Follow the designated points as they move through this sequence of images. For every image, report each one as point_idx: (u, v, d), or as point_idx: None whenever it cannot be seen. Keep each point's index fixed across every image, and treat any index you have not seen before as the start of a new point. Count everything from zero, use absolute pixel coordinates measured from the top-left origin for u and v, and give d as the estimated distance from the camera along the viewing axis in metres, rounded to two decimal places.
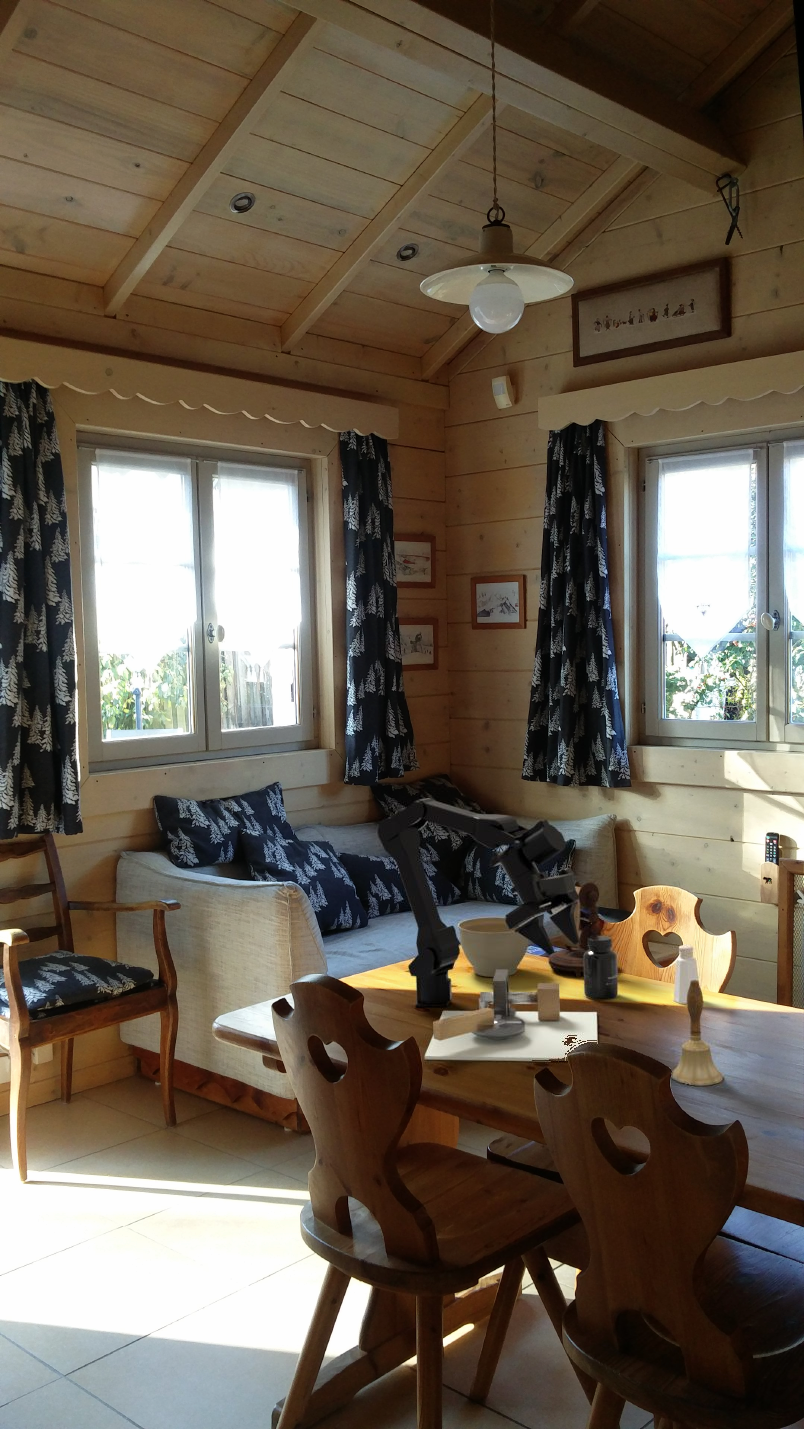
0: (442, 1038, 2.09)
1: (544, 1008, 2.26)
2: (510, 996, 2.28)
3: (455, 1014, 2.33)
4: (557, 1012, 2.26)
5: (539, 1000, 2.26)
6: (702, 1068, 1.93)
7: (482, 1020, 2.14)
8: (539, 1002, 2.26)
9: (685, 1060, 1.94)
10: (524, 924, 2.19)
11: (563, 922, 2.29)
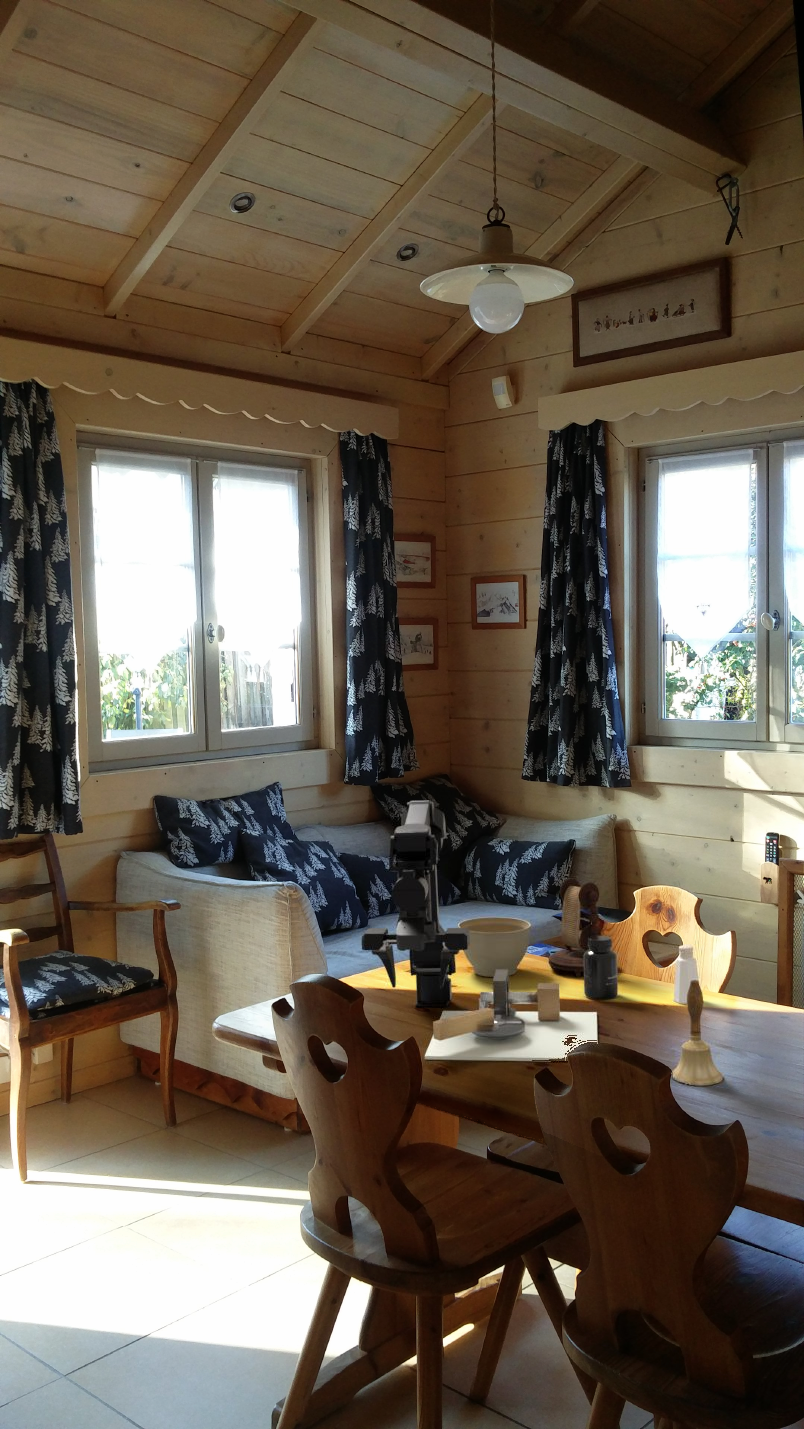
0: (442, 1038, 2.09)
1: (544, 1008, 2.26)
2: (510, 996, 2.28)
3: (455, 1014, 2.33)
4: (557, 1012, 2.26)
5: (539, 1000, 2.26)
6: (702, 1068, 1.93)
7: (482, 1020, 2.14)
8: (539, 1002, 2.26)
9: (685, 1060, 1.94)
10: None
11: None
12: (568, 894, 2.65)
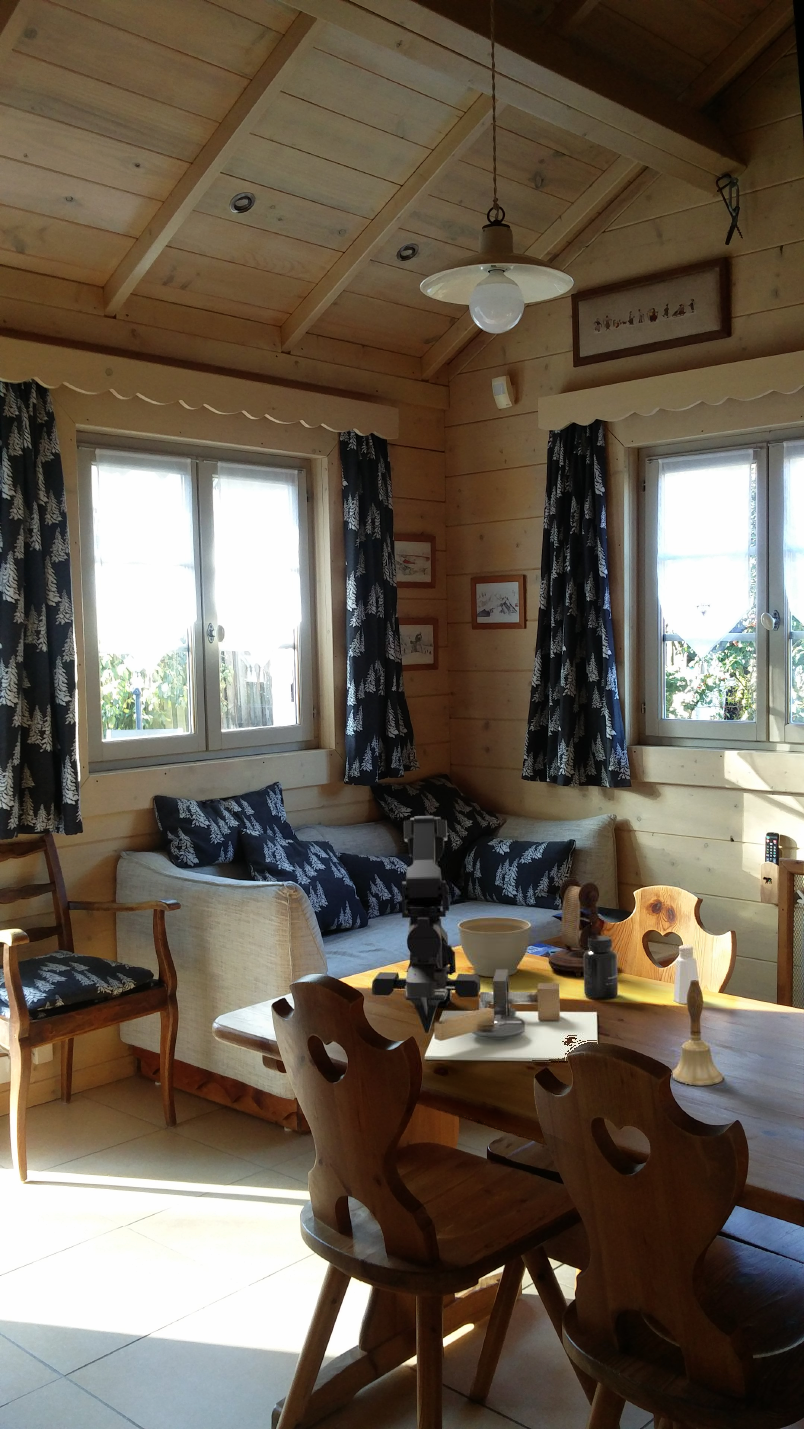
0: (443, 1038, 2.09)
1: (544, 1008, 2.26)
2: (510, 996, 2.28)
3: (455, 1014, 2.33)
4: (557, 1012, 2.26)
5: (539, 1000, 2.26)
6: (702, 1068, 1.93)
7: (482, 1020, 2.14)
8: (539, 1002, 2.26)
9: (685, 1059, 1.94)
10: None
11: None
12: (568, 894, 2.65)
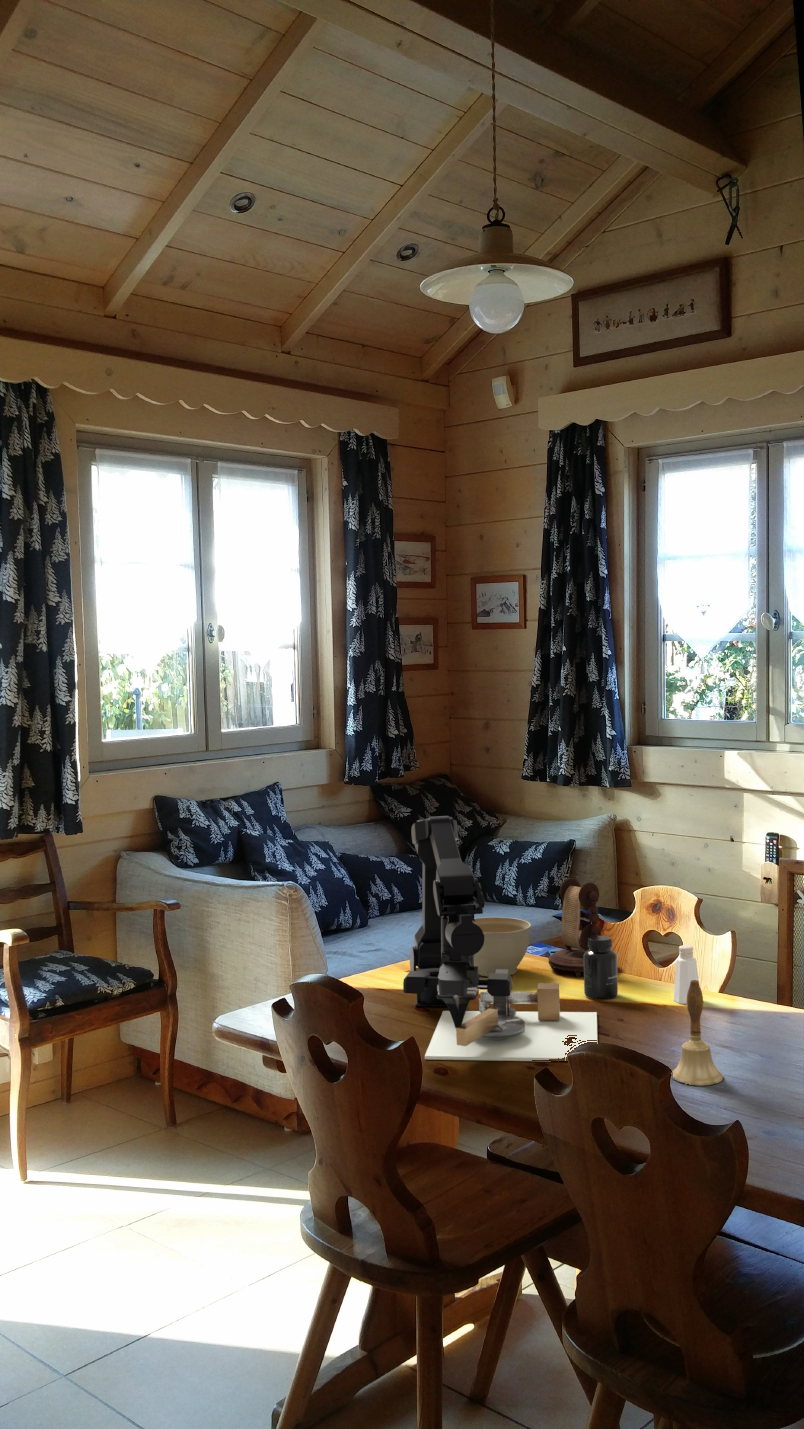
0: (467, 1043, 2.06)
1: (544, 1008, 2.26)
2: (510, 996, 2.28)
3: None
4: (557, 1012, 2.26)
5: (539, 1000, 2.26)
6: (702, 1068, 1.93)
7: (490, 1021, 2.14)
8: (539, 1002, 2.26)
9: (685, 1060, 1.94)
10: None
11: None
12: (568, 894, 2.65)
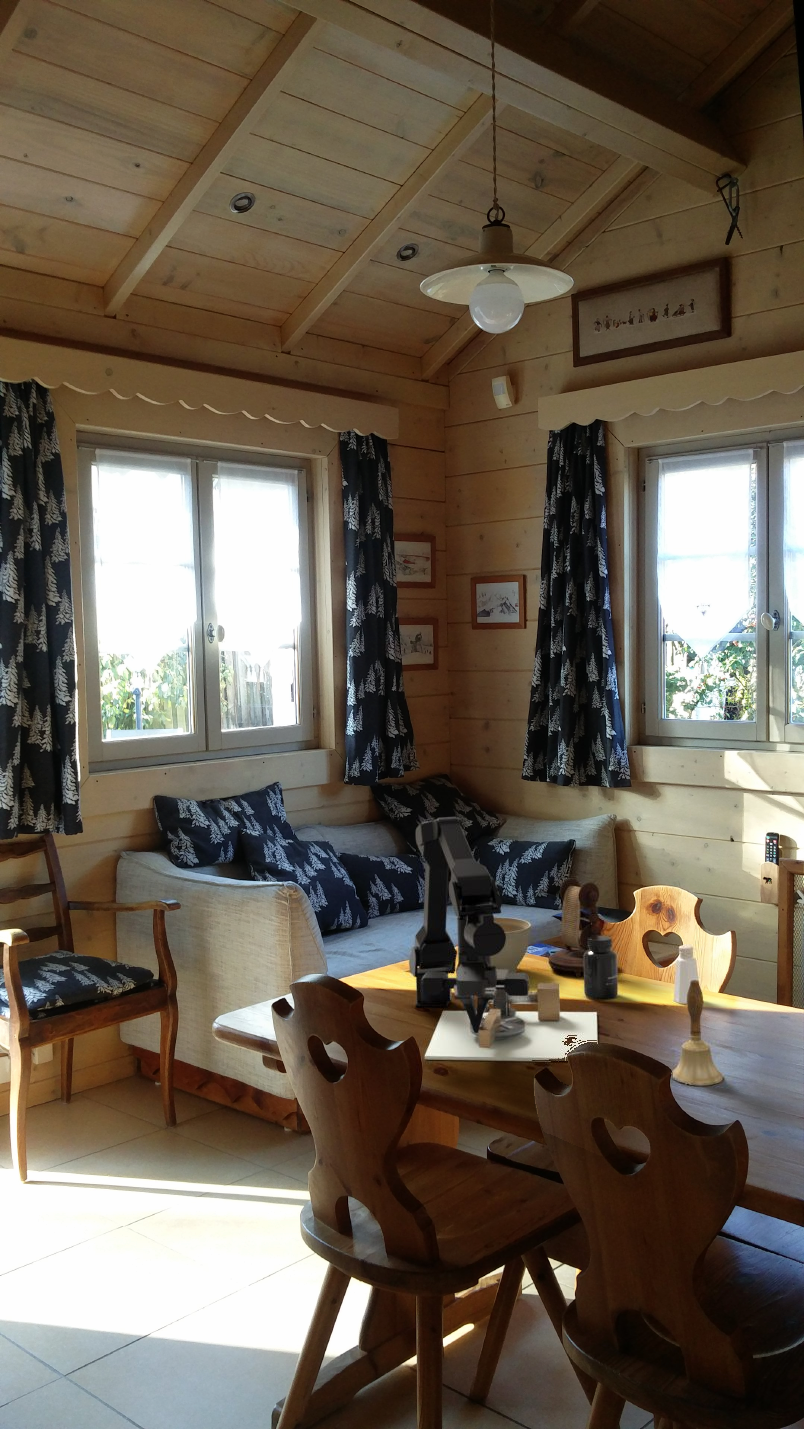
0: (490, 1045, 2.05)
1: (544, 1008, 2.26)
2: (510, 996, 2.28)
3: (455, 1014, 2.33)
4: (557, 1012, 2.26)
5: (539, 1000, 2.26)
6: (702, 1068, 1.93)
7: (498, 1021, 2.13)
8: (539, 1002, 2.26)
9: (685, 1060, 1.94)
10: None
11: None
12: (568, 894, 2.65)
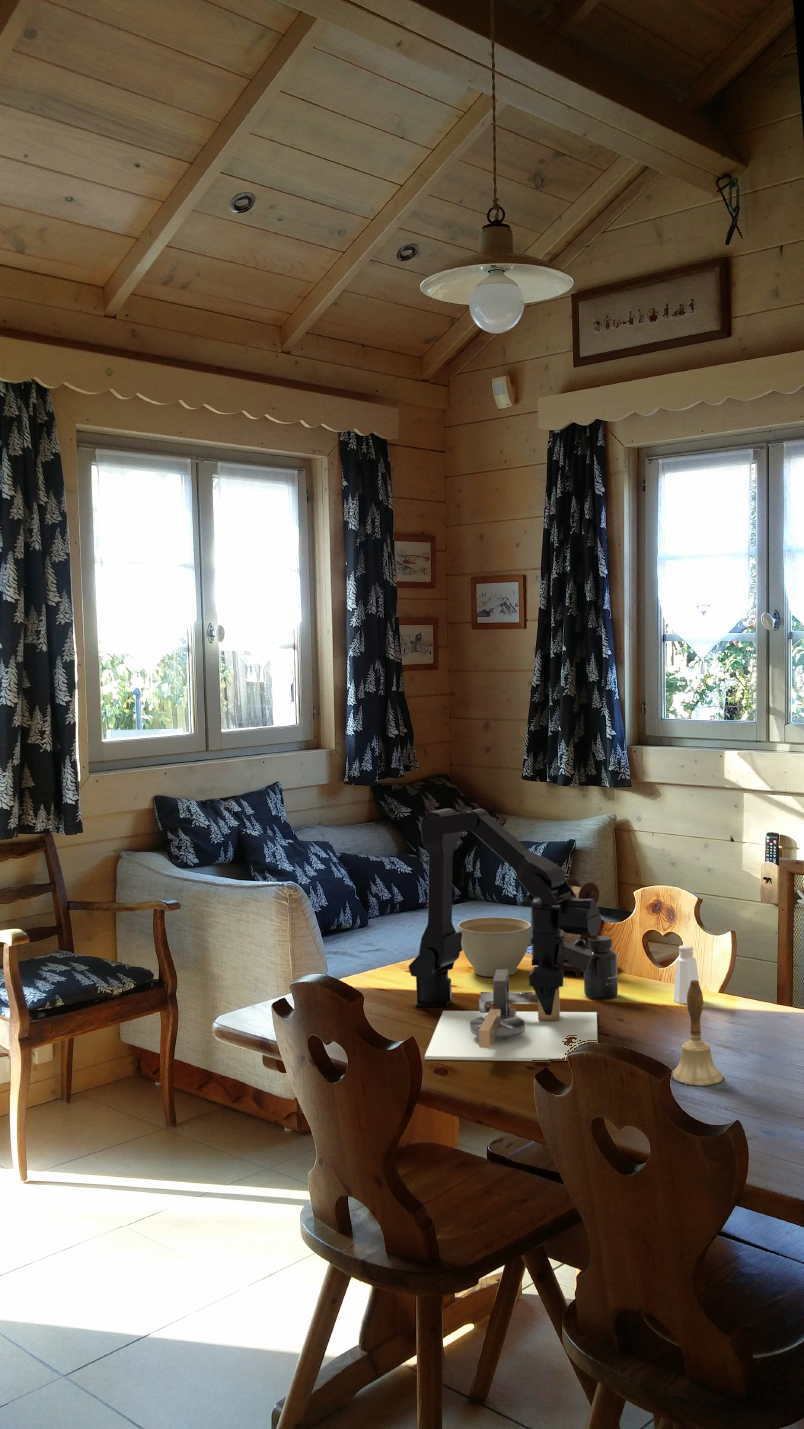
0: (490, 1045, 2.05)
1: None
2: (510, 996, 2.28)
3: (455, 1014, 2.33)
4: (557, 1012, 2.26)
5: None
6: (702, 1068, 1.93)
7: (498, 1021, 2.13)
8: (539, 1002, 2.26)
9: (685, 1060, 1.94)
10: None
11: None
12: None
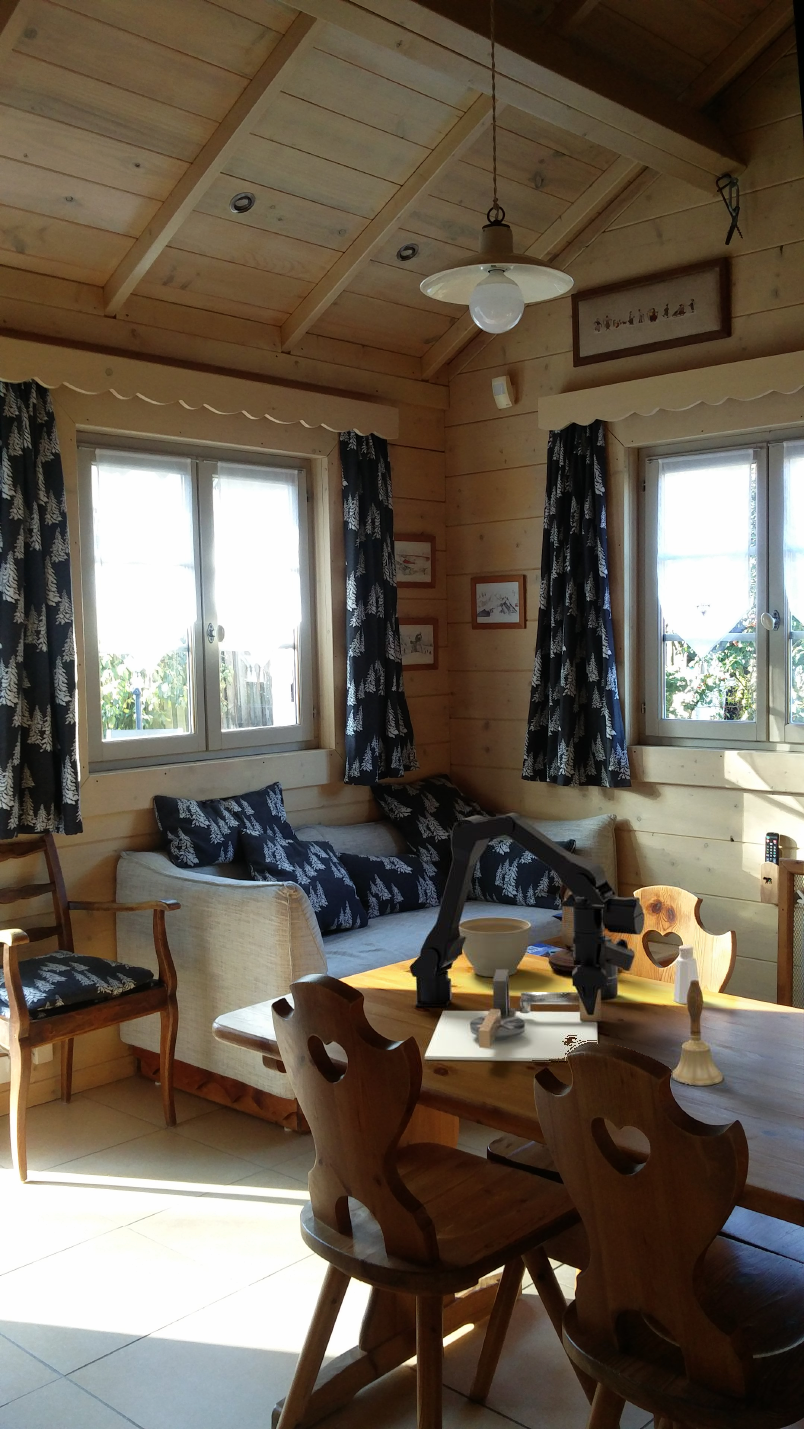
0: (490, 1045, 2.05)
1: None
2: (551, 996, 2.27)
3: (455, 1014, 2.33)
4: (599, 1012, 2.24)
5: None
6: (702, 1068, 1.93)
7: (498, 1021, 2.13)
8: (581, 1002, 2.25)
9: (685, 1060, 1.94)
10: None
11: None
12: (568, 894, 2.65)
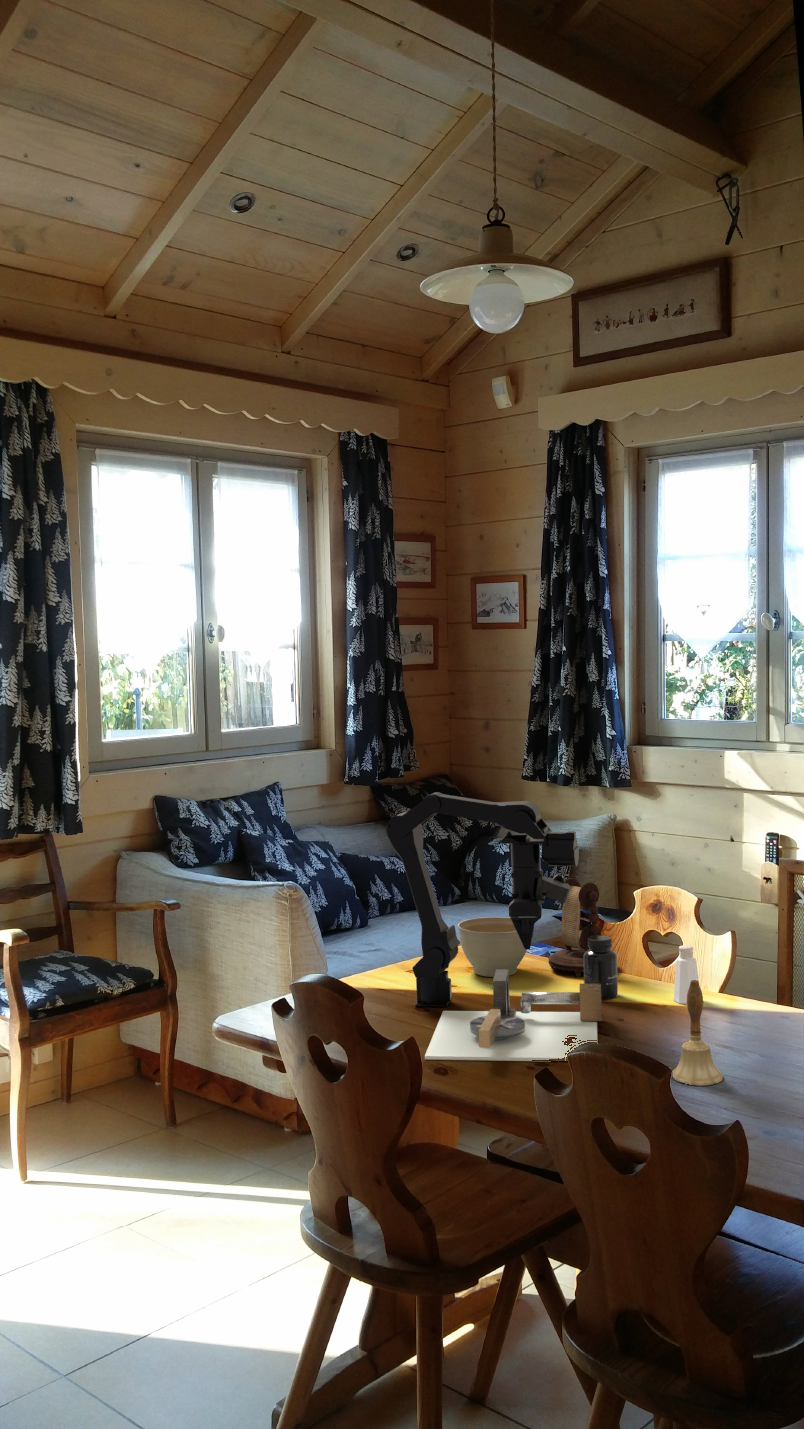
0: (490, 1045, 2.05)
1: (586, 1008, 2.25)
2: (552, 996, 2.27)
3: (455, 1014, 2.33)
4: (599, 1012, 2.24)
5: (581, 1000, 2.25)
6: (702, 1068, 1.93)
7: (498, 1021, 2.13)
8: (581, 1002, 2.25)
9: (685, 1060, 1.94)
10: (525, 917, 2.29)
11: None
12: (568, 894, 2.65)
